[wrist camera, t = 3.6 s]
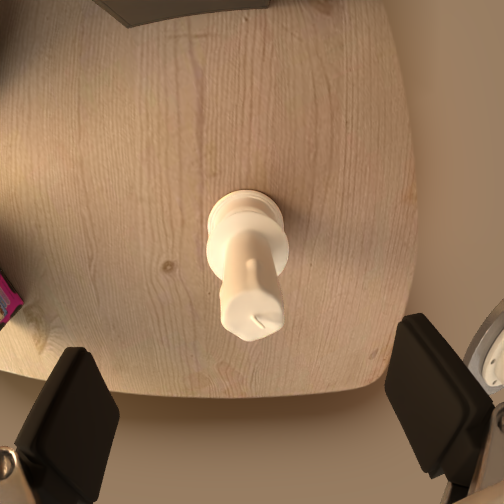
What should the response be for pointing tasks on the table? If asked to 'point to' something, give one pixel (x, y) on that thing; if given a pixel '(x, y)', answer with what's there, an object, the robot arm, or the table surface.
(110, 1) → the chute
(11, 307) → the candy bar box
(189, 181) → the table surface
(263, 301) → the candle
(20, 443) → the robot arm
